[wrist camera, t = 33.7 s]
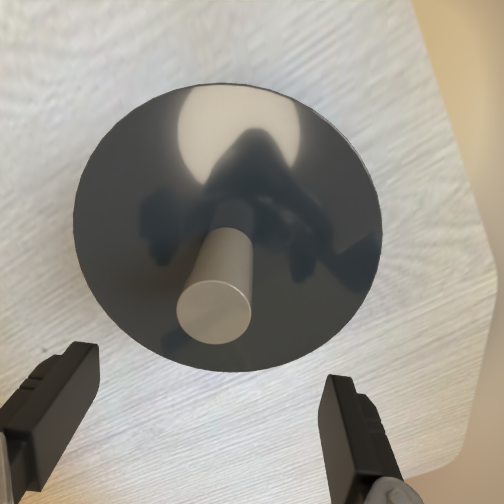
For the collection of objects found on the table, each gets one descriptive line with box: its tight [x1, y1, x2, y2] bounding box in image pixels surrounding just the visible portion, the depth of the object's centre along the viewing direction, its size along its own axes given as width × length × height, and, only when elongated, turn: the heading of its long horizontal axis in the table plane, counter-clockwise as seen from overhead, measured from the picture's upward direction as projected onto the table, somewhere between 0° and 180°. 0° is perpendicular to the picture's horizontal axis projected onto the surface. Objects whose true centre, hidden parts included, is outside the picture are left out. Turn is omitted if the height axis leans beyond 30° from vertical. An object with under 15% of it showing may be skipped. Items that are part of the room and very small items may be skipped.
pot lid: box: [73, 83, 383, 372], centre depth 14 cm, size 14×14×6 cm
